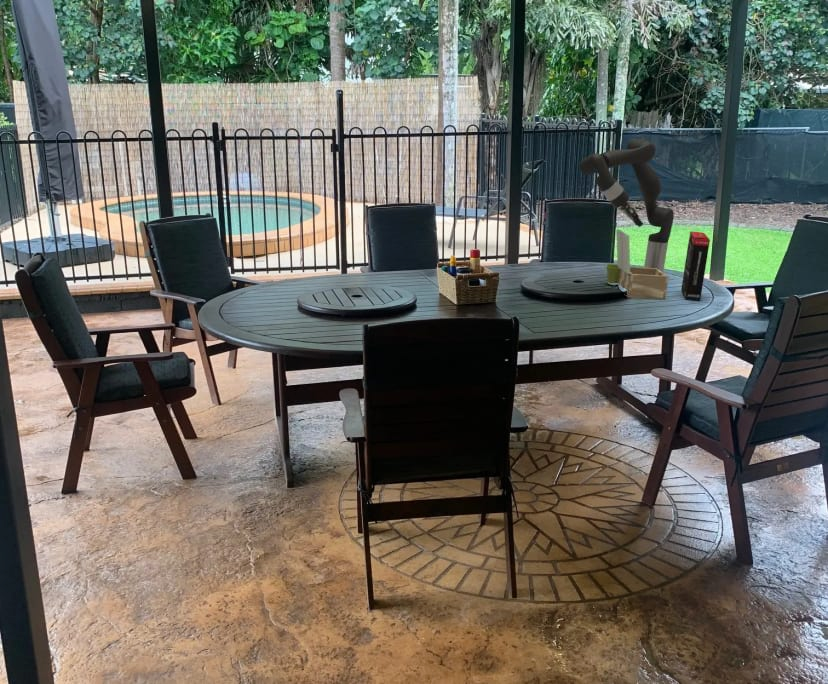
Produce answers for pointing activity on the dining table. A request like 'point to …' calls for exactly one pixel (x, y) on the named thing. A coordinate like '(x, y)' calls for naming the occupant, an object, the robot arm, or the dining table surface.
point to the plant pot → (613, 273)
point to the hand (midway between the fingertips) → (639, 224)
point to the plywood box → (644, 283)
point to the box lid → (623, 252)
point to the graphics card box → (695, 265)
